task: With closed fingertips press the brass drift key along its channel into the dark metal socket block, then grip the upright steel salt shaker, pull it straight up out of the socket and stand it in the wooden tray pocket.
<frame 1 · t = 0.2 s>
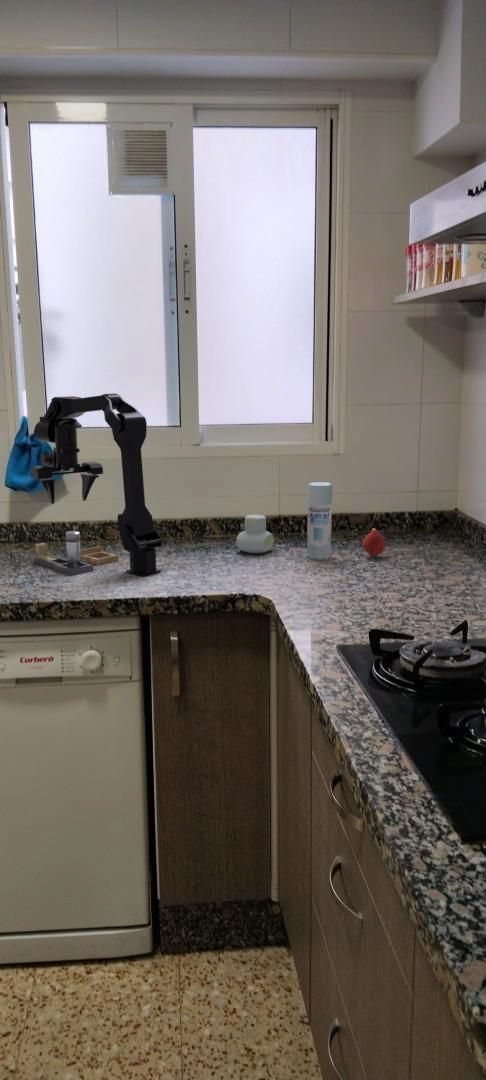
hand: (68, 502, 236), 15 cm above the worktop, fingers open, 9 cm apart
spray paint can: (318, 557, 237), on the worktop
wooden tray: (99, 560, 232), on the worktop
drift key: (46, 553, 230), point 3 cm above the worktop, slide at 0.0 cm
air freshener: (255, 552, 244), on the worktop
salt shaker: (73, 551, 221), in the socket block
onion: (373, 558, 237), on the worktop
socket block: (74, 570, 222), on the worktop
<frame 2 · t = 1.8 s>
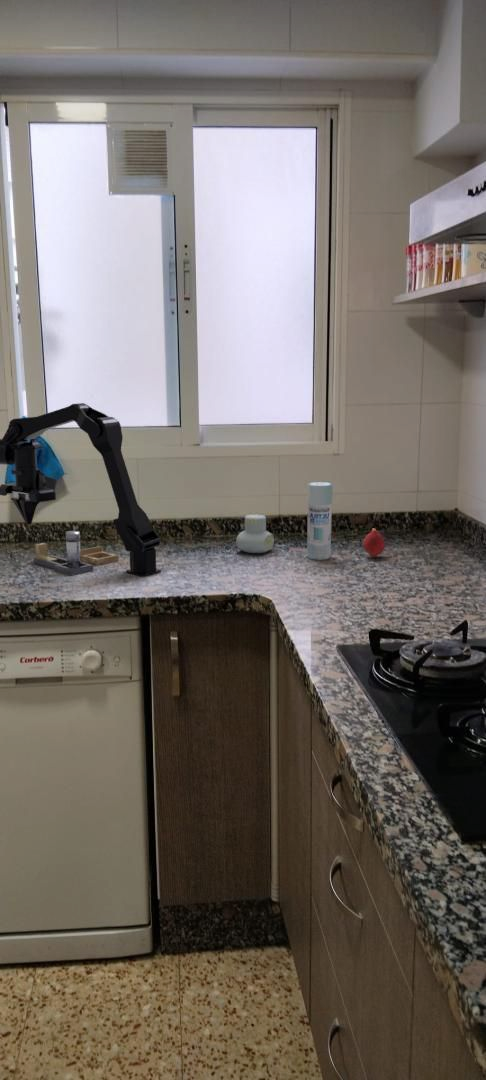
hand: (28, 524, 233), 9 cm above the worktop, fingers closed
nothing on the worktop moved.
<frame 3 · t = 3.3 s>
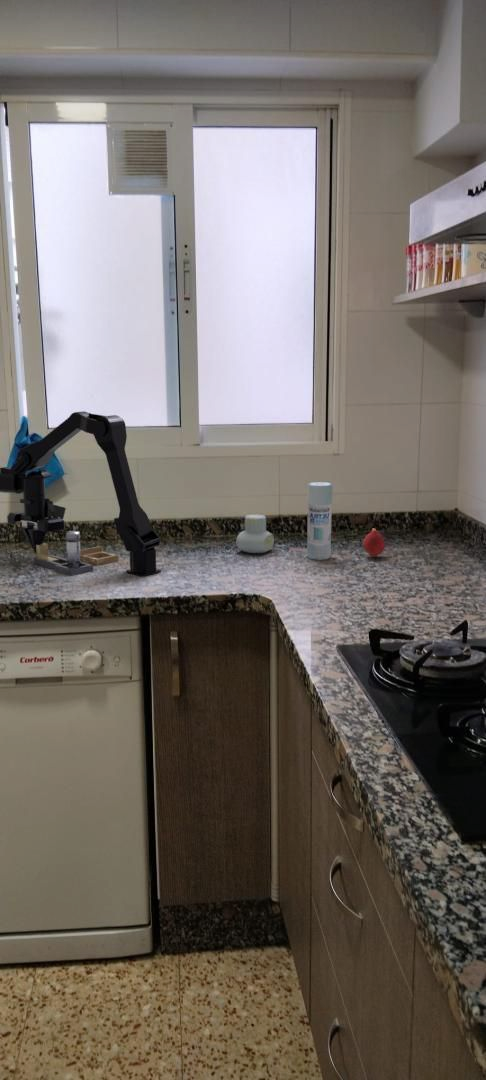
hand: (37, 552, 233), 2 cm above the worktop, fingers closed
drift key: (47, 554, 229), point 3 cm above the worktop, slide at 0.4 cm, touching gripper
everything else where it was.
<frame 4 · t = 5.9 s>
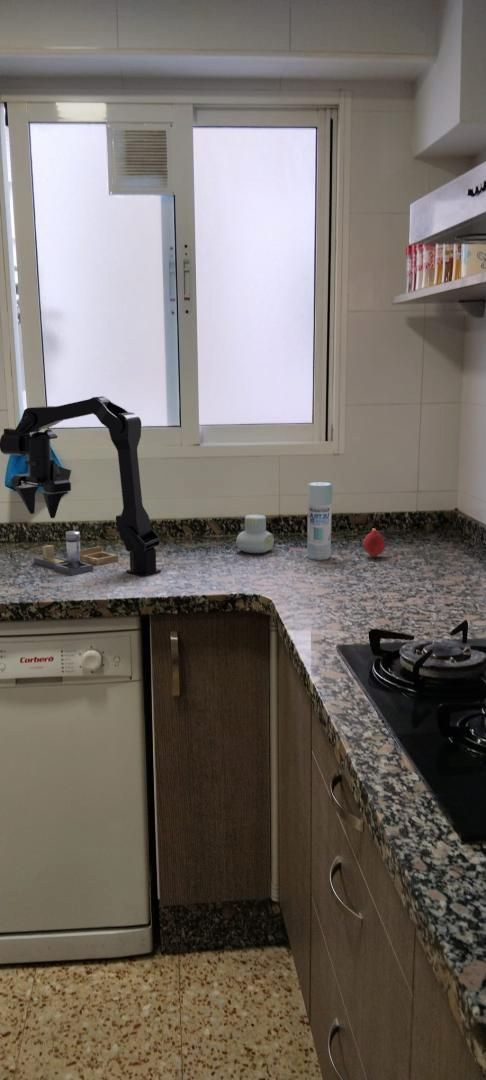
hand: (42, 515, 228), 12 cm above the worktop, fingers open, 9 cm apart
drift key: (54, 555, 227), point 3 cm above the worktop, slide at 3.4 cm
everything else where it was.
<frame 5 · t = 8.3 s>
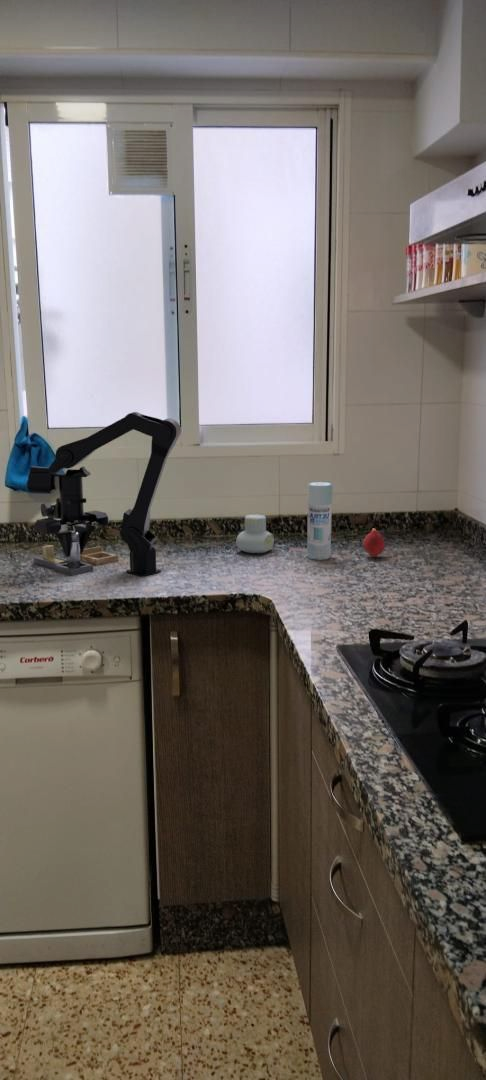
hand: (73, 555, 221), 4 cm above the worktop, fingers closed on salt shaker, 3 cm apart
salt shaker: (73, 551, 221), in the socket block, touching gripper
everything else where it was.
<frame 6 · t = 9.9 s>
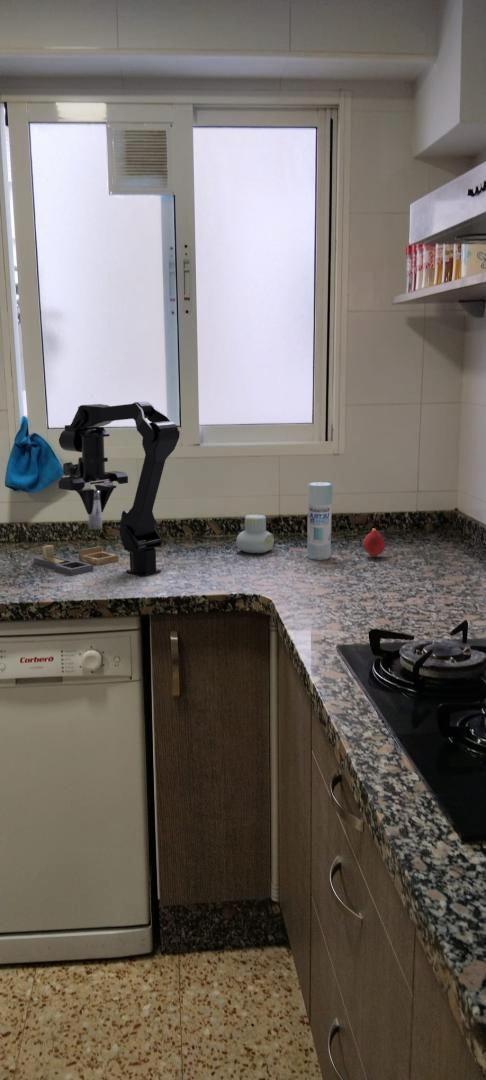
hand: (95, 513, 229), 13 cm above the worktop, fingers closed on salt shaker, 3 cm apart
salt shaker: (94, 509, 229), point 14 cm above the worktop, touching gripper
everything else where it was.
when the fingers open (5 cm above the worktop, at t = 11.7 s): salt shaker drops 1 cm, resting in wooden tray.
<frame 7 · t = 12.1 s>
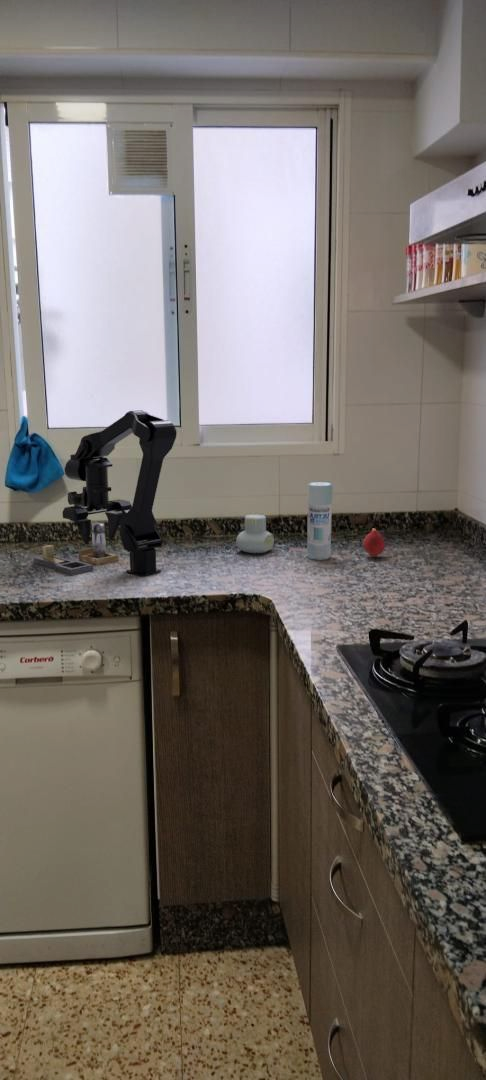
hand: (99, 541, 231), 5 cm above the worktop, fingers open, 8 cm apart
salt shaker: (99, 542, 231), resting in wooden tray
everything else where it was.
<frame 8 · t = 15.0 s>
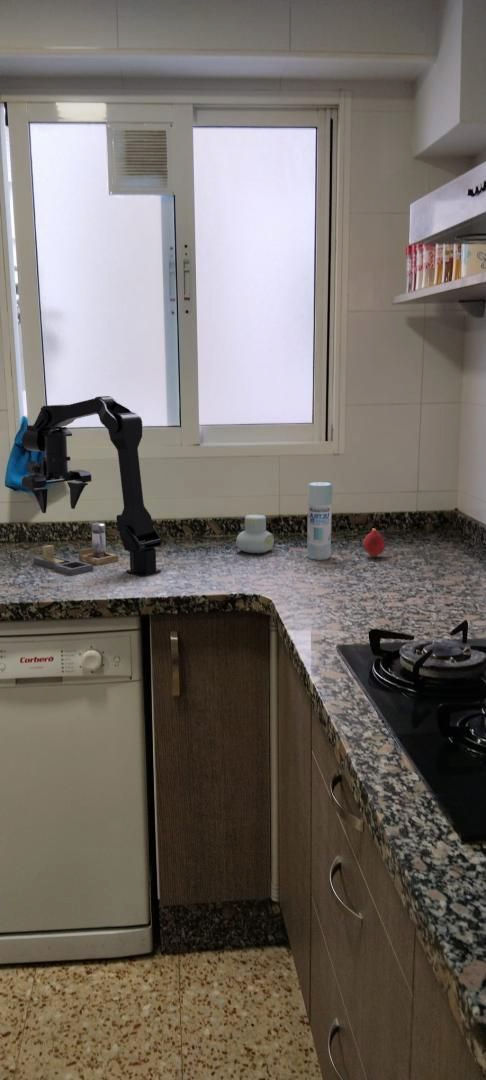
hand: (58, 510, 235), 12 cm above the worktop, fingers open, 9 cm apart
nothing on the worktop moved.
at the end: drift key slide at 3.4 cm; salt shaker 0.0 cm from the target spot, resting in wooden tray; salt shaker tilted 0° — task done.
